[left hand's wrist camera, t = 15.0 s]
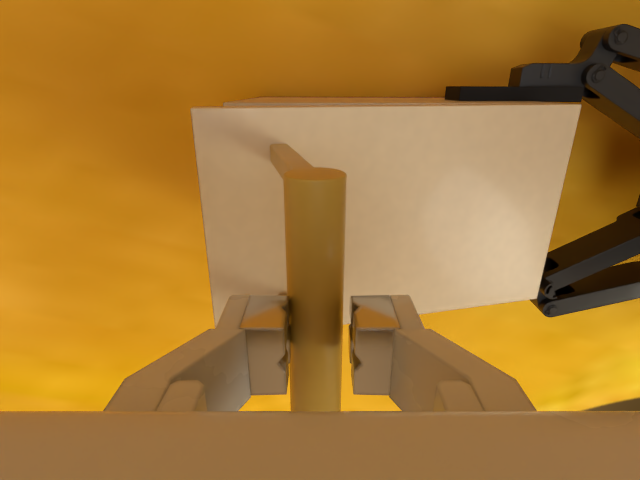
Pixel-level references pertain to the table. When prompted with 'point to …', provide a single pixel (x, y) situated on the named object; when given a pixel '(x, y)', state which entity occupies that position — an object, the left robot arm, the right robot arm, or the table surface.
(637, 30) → the right robot arm
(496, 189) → the lid
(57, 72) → the table surface
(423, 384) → the left robot arm
